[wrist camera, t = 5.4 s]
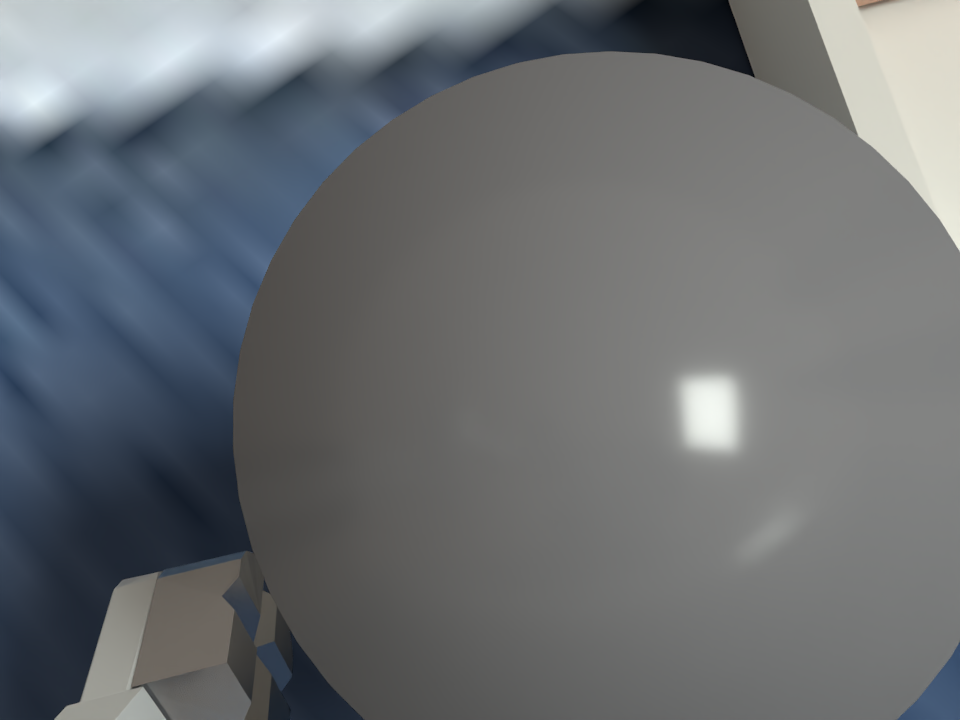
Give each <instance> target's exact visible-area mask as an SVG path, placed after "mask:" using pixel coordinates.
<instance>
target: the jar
mask: <svg viewBox="0 0 960 720" xmlns="http://www.w3.org/2000/svg"><path fill="white" fill-rule="evenodd" d="M233 453H234V461H235V469H236V477H237V485H238V493H239V500H240V504H241V508H242V512H243V516H244V519H245V523H246V527H247V531H248V535H249V539H250V543H251V546H252V550H253V552H254V555H255V557H256V560H257V562H258V564H259V567H260V569H261V572H262V574H263V577H264V579H265V582H266V584H267V587H268V589H269V592H270V594H271V597H272V598H273V600H274V602H275V604H276V605H277V607H278V609H279V611H280V612H281V614H282V616H283V618H284V619H285V621H286V623H287V625H288V626H289V628H290V630H291V632H292V633H293V635H294V637H295V639H296V641H297V642H298V644H299V645H300V646H301V648H302V649H303V650H304V652H305V653H306V654H307V655H308V657H309V658H310V659H311V661H312V662H313V663H314V665H315V666H316V667H317V669H318V670H319V671H320V673H321V674H322V675H323V677H324V678H325V679H326V680H327V682H328V683H329V684H330V686H331V687H332V688H333V689H334V690H335V691H336V692H337V693H338V694H339V695H340V696H341V697H342V698H343V699H344V700H345V701H346V702H347V703H348V704H349V705H350V706H351V707H352V708H353V709H354V710H355V711H356V712H357V713H358V714H359V715H360V716H361V717H362V718H363V719H364V720H897V719H898V718H899V717H900V716H901V715H902V714H903V713H904V712H905V711H906V710H907V709H908V708H909V707H910V706H911V705H912V704H913V703H914V702H915V701H916V700H918V698H919V697H920V696H921V694H922V693H923V692H924V691H925V689H926V688H927V687H928V685H929V684H930V683H931V682H932V680H933V679H934V678H935V676H936V675H937V674H938V673H939V671H940V670H941V669H942V668H943V666H944V665H945V664H946V662H947V661H948V660H949V659H950V657H951V656H952V654H953V652H954V650H955V649H956V647H957V645H958V643H959V642H960V251H959V249H958V248H957V246H956V245H955V243H954V241H953V240H952V238H951V237H950V235H949V233H948V232H947V230H946V229H945V227H944V226H943V224H942V222H941V221H940V219H939V218H938V217H937V216H936V214H935V213H934V212H933V211H932V209H931V208H930V207H929V206H928V205H927V203H926V202H925V201H924V200H923V198H922V197H921V196H920V195H919V194H918V192H917V191H916V190H915V189H914V187H913V186H912V185H911V184H910V182H909V181H908V180H907V179H906V178H905V177H903V176H902V175H901V174H900V173H899V172H898V171H897V170H896V169H895V168H894V167H893V166H892V165H891V164H890V163H889V162H888V161H887V160H886V159H885V158H884V157H883V156H882V155H881V154H880V153H878V152H877V151H876V150H875V149H874V148H873V147H872V146H871V145H869V144H868V143H867V142H865V141H864V140H863V139H861V138H860V137H859V136H857V135H856V134H855V133H853V132H852V131H851V130H849V129H848V128H847V127H845V126H844V125H843V124H841V123H840V122H839V121H837V120H836V119H835V118H833V117H831V116H830V115H828V114H826V113H824V112H823V111H821V110H819V109H817V108H816V107H814V106H812V105H811V104H809V103H807V102H805V101H804V100H802V99H800V98H798V97H797V96H795V95H793V94H791V93H789V92H787V91H784V90H782V89H780V88H777V87H775V86H773V85H770V84H768V83H766V82H763V81H761V80H759V79H756V78H754V77H752V76H749V75H746V74H743V73H739V72H736V71H733V70H729V69H726V68H723V67H719V66H716V65H712V64H709V63H706V62H702V61H696V60H690V59H684V58H678V57H672V56H667V55H661V54H652V53H632V52H612V51H607V52H592V53H578V54H563V55H558V56H552V57H547V58H542V59H536V60H531V61H526V62H521V63H516V64H513V65H510V66H507V67H503V68H500V69H497V70H494V71H491V72H488V73H485V74H481V75H478V76H475V77H472V78H470V79H468V80H466V81H464V82H461V83H459V84H457V85H455V86H453V87H450V88H448V89H446V90H444V91H442V92H439V93H437V94H435V95H433V96H431V97H429V98H427V99H426V100H424V101H423V102H421V103H419V104H418V105H416V106H414V107H413V108H411V109H409V110H408V111H406V112H405V113H403V114H401V115H400V116H398V117H396V118H395V119H393V120H392V121H390V122H389V123H388V124H387V125H385V126H384V127H383V128H382V129H380V130H379V131H378V132H377V133H375V134H374V135H373V136H371V137H370V138H369V139H368V140H366V141H365V142H364V143H363V144H361V145H360V146H359V147H358V148H356V149H355V150H354V151H353V152H352V153H351V154H350V155H349V156H348V157H347V158H346V159H345V160H344V162H343V163H342V164H341V165H340V166H339V167H338V168H337V169H336V170H335V171H334V172H333V173H332V174H331V175H330V176H329V177H328V178H327V179H326V180H325V181H324V182H323V183H322V184H321V186H320V187H319V188H318V190H317V191H316V192H315V194H314V195H313V196H312V198H311V199H310V200H309V202H308V203H307V204H306V206H305V207H304V208H303V209H302V211H301V212H300V213H299V215H298V216H297V217H296V219H295V220H294V222H293V224H292V225H291V227H290V229H289V231H288V232H287V234H286V236H285V238H284V239H283V241H282V243H281V244H280V246H279V248H278V250H277V251H276V253H275V255H274V257H273V258H272V260H271V262H270V265H269V267H268V270H267V272H266V274H265V277H264V279H263V281H262V284H261V286H260V289H259V291H258V293H257V296H256V298H255V301H254V303H253V306H252V310H251V313H250V317H249V321H248V324H247V328H246V332H245V335H244V339H243V343H242V346H241V350H240V356H239V363H238V370H237V378H236V385H235V392H234V399H233Z"/></svg>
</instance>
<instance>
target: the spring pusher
mask: <svg viewBox="0 0 960 720" xmlns="http://www.w3.org/2000/svg"><path fill="white" fill-rule="evenodd" d="M878 1H882V0H856V3H857V5H858V6H862V5H866V4H870V3H874V2H878Z"/></svg>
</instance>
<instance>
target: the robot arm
mask: <svg viewBox="0 0 960 720" xmlns="http://www.w3.org/2000/svg"><path fill="white" fill-rule="evenodd" d="M263 582H264V577H263V574H262V572H261V569H260V567H259V564H258V562H257V560H256V557H255V555H254V553H252V552H249V551H243V552H239V553H234V554H230V555H226V556H221V557H217V558H213V559H208V560H204V561H200V562H195V563H191V564H186V565H182V566H178V567H173V568H169V569H165V570H164V571H161V572H156V573H151V574H147V575H142V576H138V577H133V578H129V579H125V580H122V581H121V582H120V583H119V584H118V585H117V586H116V588H115V589H114V590H113V593H112V596H111V599H110V603H109V606H108V609H107V613H106V616H105V619H104V623H103V626H102V629H101V633H100V636H99V639H98V643H97V646H96V649H95V653H94V656H93V659H92V663H91V666H90V669H89V673H88V676H87V679H86V683H85V686H84V689H83V693H82V696H81V700H80V702H79V703H76V704H72V705H68V706H66V707H65V708H64V709H63V710H62V711H61V713H60V714H59V715H58V716H57V717H56V718H55V719H54V720H290V708H289V706H288V704H287V702H286V701H285V699H284V697H283V695H282V693H281V692H282V690H283V689H284V687H285V686H286V684H287V683H288V681H289V680H290V679H291V677H292V673H293V649H292V642H291V634H290V628H289V626H288V625H287V623H286V621H285V619H284V618H283V616H282V614H281V612H280V611H279V609H278V607H277V605H276V604H275V602H274V600H273V598H272V597H271V594H269V593H267V592H265V591H263Z"/></svg>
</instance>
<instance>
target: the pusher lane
mask: <svg viewBox="0 0 960 720" xmlns="http://www.w3.org/2000/svg"><path fill="white" fill-rule="evenodd" d="M728 1H729V4H730V7H731V10H732V13H733V15H734V18H735V21H736V24H737V27H738V30H739V33H740V35H741V38H742V41H743V44H744V47H745V50H746V53H747V56H748V58H749V61H750V64H751V67H752V70H753V73H754V76H755V78H756V79H759V80H761V81H763V82H766V83H768V84H770V85H773V86H775V87H777V88H780V89H782V90H784V91H787V92H789V93H791V94H793V95H795V96H797V97H798V98H800V99H802V100H804V101H805V102H807V103H809V104H811V105H812V106H814V107H816V108H817V109H819V110H821V111H823V112H824V113H826V114H828V115H830V116H831V117H833V118H835V119H836V120H837V121H839V122H840V123H841V124H843V125H844V126H845V127H847V128H848V129H849V130H851V131H852V132H853V133H855V134H856V135H857V136H859V137H860V138H861V139H863V140H864V141H865V142H867V143H868V144H869V145H871V146H872V147H873V148H874V149H875V150H876V151H877V152H878V153H880V154H881V155H882V156H883V157H884V158H885V159H886V160H887V161H888V162H889V163H890V164H891V165H892V166H893V167H894V168H895V169H896V170H897V171H898V172H899V173H900V174H901V175H902V176H903V177H905V178H906V179H907V180H908V181H909V182H910V184H911V185H912V186H913V187H914V189H915V190H916V191H917V192H918V194H919V195H920V196H921V197H922V198H923V200H924V201H925V202H926V203H927V205H928V206H929V207H930V208H931V209H932V211H933V212H934V213H935V214H936V216H937V217H938V218H939V219H940V221H941V222H942V224H943V226H944V227H945V229H946V230H947V232H948V233H949V235H950V237H951V238H952V240H953V241H954V243H955V245H956V246H957V248H958V249H959V251H960V0H882V1H878V2H874V3H870V4H866V5H862V6H858V5H857V3H856V0H728Z"/></svg>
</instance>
